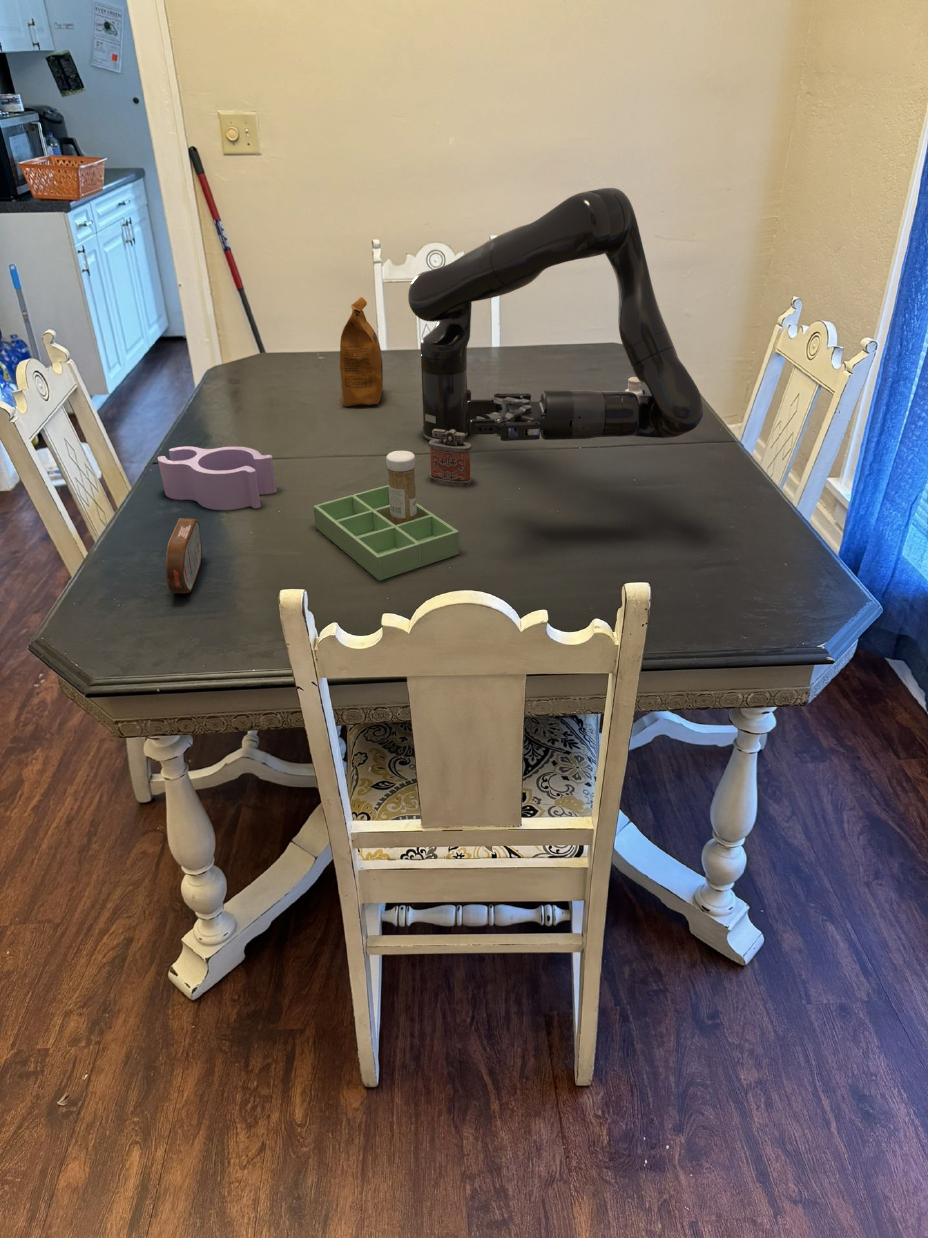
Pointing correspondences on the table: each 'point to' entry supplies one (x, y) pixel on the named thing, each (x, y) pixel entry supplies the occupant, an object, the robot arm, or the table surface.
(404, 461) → the sprinkles bottle
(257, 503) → the clip
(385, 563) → the organizer
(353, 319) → the coffee package
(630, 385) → the pepper shaker
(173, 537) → the tin
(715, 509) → the table surface
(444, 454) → the lighter
